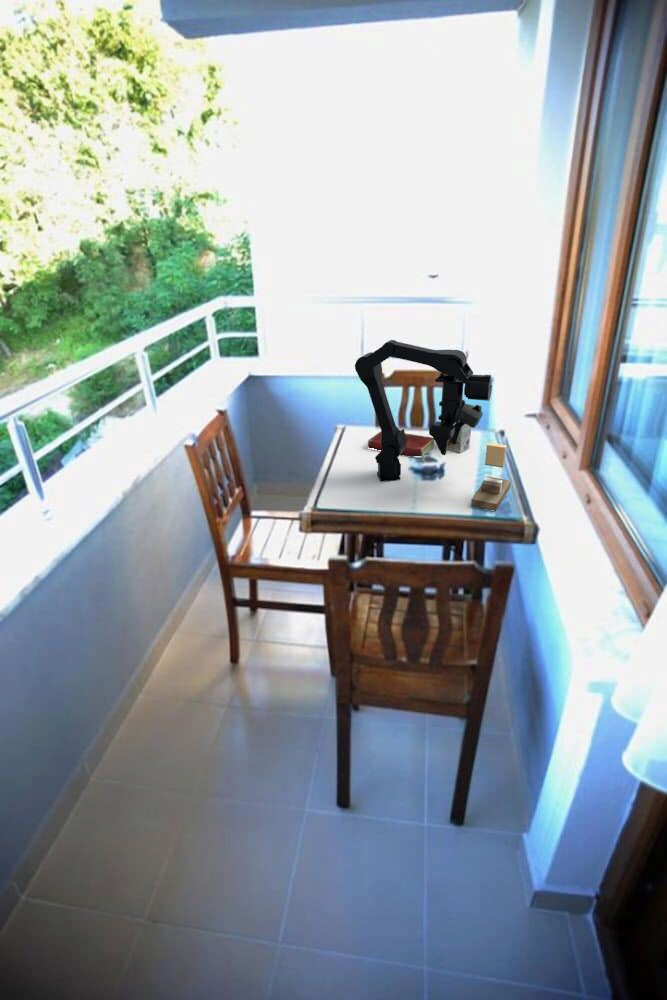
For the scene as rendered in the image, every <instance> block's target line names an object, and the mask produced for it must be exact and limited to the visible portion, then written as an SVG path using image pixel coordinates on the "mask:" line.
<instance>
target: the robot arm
mask: <svg viewBox="0 0 667 1000" xmlns="http://www.w3.org/2000/svg"><path fill="white" fill-rule="evenodd" d="M390 357H392V358H395V359H399V360H404V361H408V362H412V363H416V364H420V365H424V366H429V367H432V369H434V370H435V371H438V372H439V373H440V374H439V375H438V376H437V377H436V378H435V381H434V382H436V383H442V385H441V387H442V388H441V400H440V401H439V403H438V406H439V407H440V408H441V409H440V415H439V416H438V419H437V420H439V421H436V422H434V423H433V424H432V425H431V426H430V427H429V428H428V435H430V436H431V437H432V438H434V443H436V445H437V448H438V451H439V452H440V454H441V455H442V456H446V455H447V451H448V450H447V447H448V442H449V439H450V438H451V441H452V444H456V443H457V440H458V437H459V434H460V431H461V428H462V426H463V425H465V424H467V425H469V427H471V429H475V428H476V427H477V426H478V425H479V423H480V421H481V419H482V417H483V414H484V412H482V406H481V405H479V404H475V405H473V406H474V407H473V408H471V407H467V406H465V404H466V401H465V399H464V398H463V396H465V398H467V400H473V401H474V400H475V401H485V402H486V401H487V402H489V401H490V400H491V396H492V391H493V384H492V381H493V380H492V375H491V374H474V371H473V370H472V368H471V367H470V365H469V363H468V362H467V361H468V359H467V356H466V354H465V352H463V351H462V350H459V349H432V348H427V347H422V346H418V345H413V344H409V343H404V342H401V341H397V340H395V339H391V340H388V341H386V342H385V343H383V345H382V346H381V347H379V348H378V349H376V350H375V351H374V352H367V353H365V354H364V355H362V356H360V357H359V358H358V359H356V361H355V364H354V369H355V372H356V374H357V376H358V378H359V379H360V381H361V383H363V385H364V386H365V387H366V388H367V392H368V394H369V397H370V400H371V403H372V406H373V409H374V412H375V413H374V414H375V416H376V418H377V422H378V425H379V428H380V432H382V434H381V445H382V450H381V451H379V453H377V454H376V456H375V457H374V459H375V461H376V464H377V471H376V475H377V477H378V479H379V482H381V483H382V482H389V481H390V482H391V481H392V482H393V481H401V477H400V476H401V475H402V474H401V473H402V472H401V471H402V468H401V467H402V464H401V462H400V459H399V457H400V456H401V455H400V454H401V453H402V452H403V451H404V450H405V448H406V445H407V443H406V442H407V441H408V440H407V438H406V436H405V433H406V431H405V429H404V428H402V429H399V428H398V427H397V425H396V423H395V419H394V416H393V412H392V410H391V406H390V404H389V403H390V402H389V400H388V397H387V394H386V390H385V388H384V383H383V365H382V363H383V362H384V361H386V360H387V359H389V358H390ZM441 420H443V422H441Z"/></svg>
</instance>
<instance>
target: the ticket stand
mask: <svg viewBox="0 0 667 1000" xmlns="http://www.w3.org/2000/svg"><path fill="white" fill-rule="evenodd" d="M511 484H512V480H510V479H509V480H508V479H505V478H498V477H492V476H486V477H484V478H483V480H482V482H481V485H480V487H479V488H478V490H476V492H475V493H474V495H473V496H472V497H471V499H470V501H471V503H470V507H471V508H475V509H480V510H484V509H487V510H486V511H489V510H494V511H496V510H497V511H498V509H499V508H500V506H501V504H502V503H501V502H503V501H504V499H505V498H504V497H506V496H507V494H508V493H509V491H510V489H511ZM507 492H508V493H507ZM502 500H503V501H502ZM499 505H500V506H499ZM498 507H499V508H498ZM497 508H498V509H497ZM494 511H493V512H494ZM497 511H496V512H497Z"/></svg>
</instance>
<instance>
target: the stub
mask: <svg viewBox="0 0 667 1000" xmlns="http://www.w3.org/2000/svg"><path fill="white" fill-rule="evenodd" d="M507 447H508V446H507V445H505V444H501V443H500V444H499V443H493V442H488V443H487V444H486V451H485V458H484V459H485V461H484V466H491V467H496V468H502V469H503V468H504V466H505V464H506V456H507Z"/></svg>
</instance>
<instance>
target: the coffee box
mask: <svg viewBox="0 0 667 1000" xmlns="http://www.w3.org/2000/svg"><path fill="white" fill-rule="evenodd" d="M465 406H467V407H471V408H473V407H474V406H475V405H473V404H469V403H465ZM440 422H443V420H440ZM471 433H472V427H469V425H467V424H465V425H463V426H462V428H461V431H460V434H459V437H458V440H457V443H456V444H452V441H451V438H450V439H449V442H448V447H447V451H450V452H454V453H457V454H462V453H465V452H466V451H468V450H469V449H470V448H471V447H470V446H471V435H472V434H471Z"/></svg>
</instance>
